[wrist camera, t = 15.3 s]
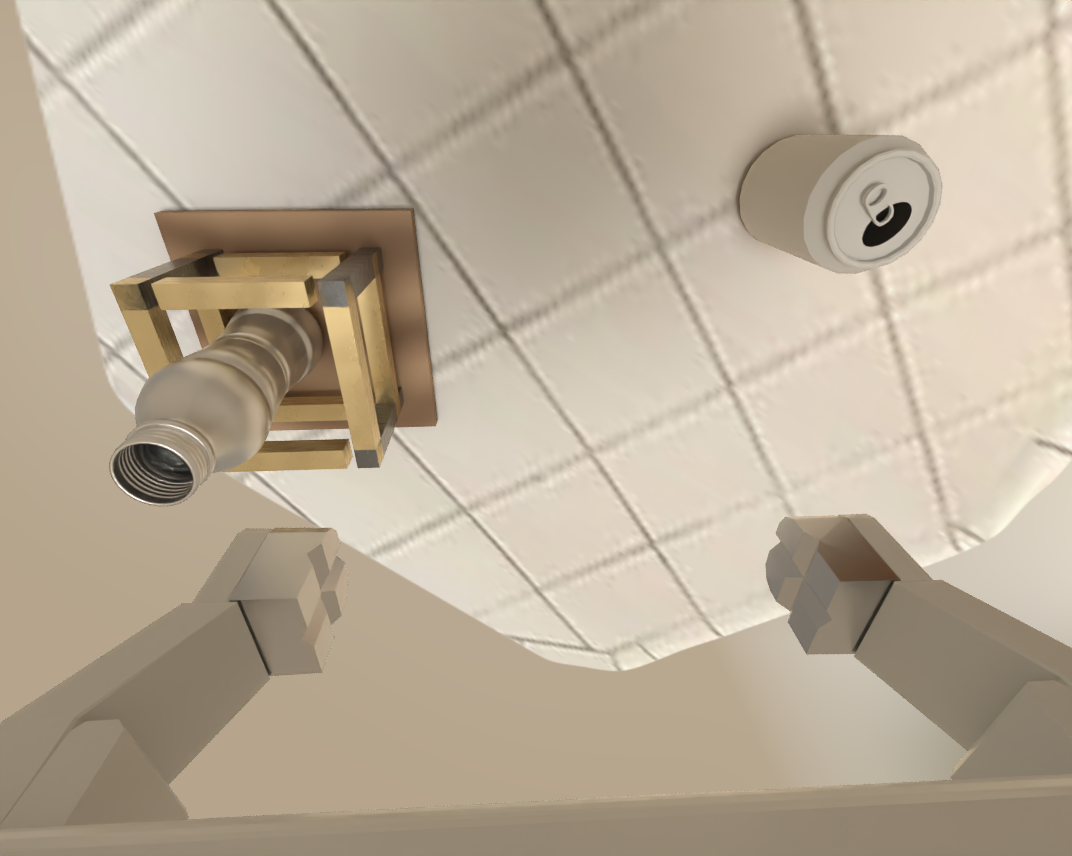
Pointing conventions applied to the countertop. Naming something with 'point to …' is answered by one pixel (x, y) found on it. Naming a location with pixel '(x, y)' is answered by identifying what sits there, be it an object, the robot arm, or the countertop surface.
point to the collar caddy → (283, 284)
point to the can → (842, 199)
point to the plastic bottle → (214, 404)
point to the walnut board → (318, 235)
